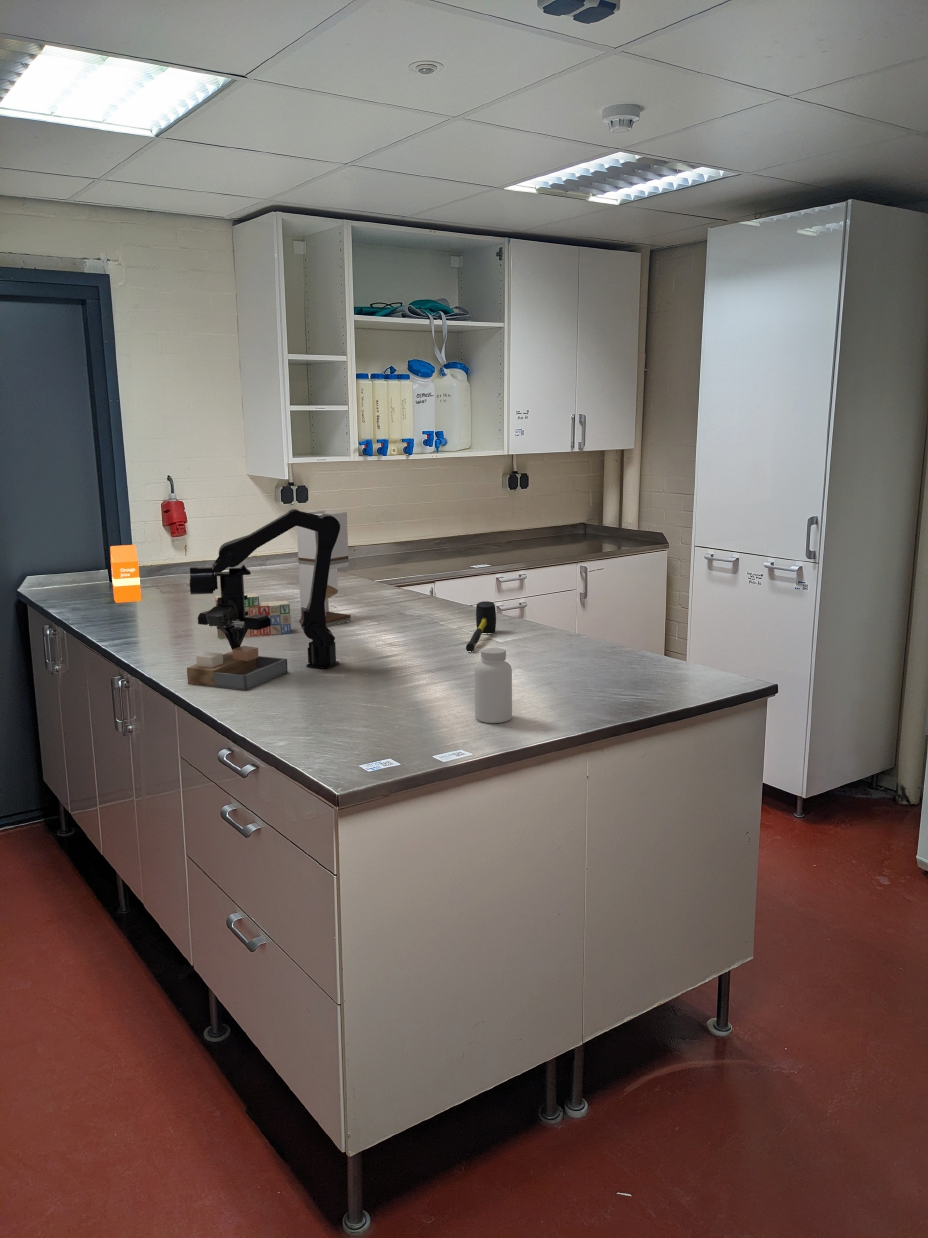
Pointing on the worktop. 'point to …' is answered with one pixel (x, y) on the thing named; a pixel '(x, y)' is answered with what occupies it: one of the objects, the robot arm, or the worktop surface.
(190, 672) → the walnut plate
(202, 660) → the tile cream
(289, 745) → the worktop surface
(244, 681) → the box
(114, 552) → the orange juice
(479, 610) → the mallet
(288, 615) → the stack of blocks
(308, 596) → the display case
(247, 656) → the tile terracotta
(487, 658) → the pill bottle
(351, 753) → the worktop surface
